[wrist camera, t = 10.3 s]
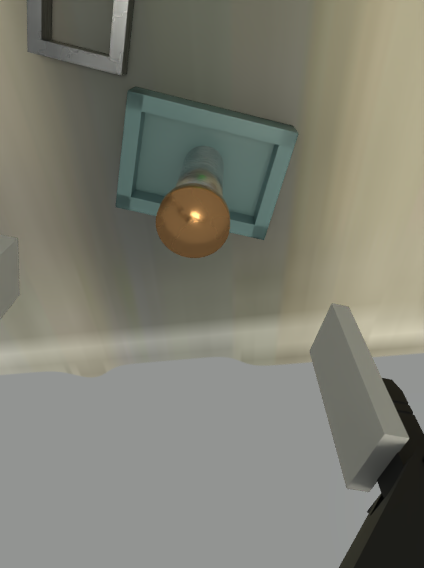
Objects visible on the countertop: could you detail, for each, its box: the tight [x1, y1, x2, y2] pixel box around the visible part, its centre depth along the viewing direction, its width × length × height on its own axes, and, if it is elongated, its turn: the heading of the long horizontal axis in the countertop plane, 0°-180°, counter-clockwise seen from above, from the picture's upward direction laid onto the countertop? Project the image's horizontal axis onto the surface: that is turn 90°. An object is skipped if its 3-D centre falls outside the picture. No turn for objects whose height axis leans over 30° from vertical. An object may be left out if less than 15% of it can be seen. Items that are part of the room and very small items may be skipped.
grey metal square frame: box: [27, 0, 134, 75], centre depth 29 cm, size 7×7×2 cm
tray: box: [116, 87, 298, 240], centre depth 35 cm, size 13×9×3 cm
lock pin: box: [156, 146, 230, 258], centre depth 29 cm, size 4×4×13 cm
